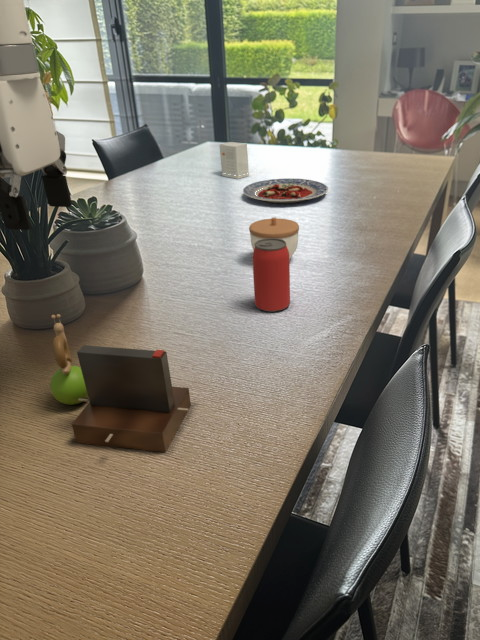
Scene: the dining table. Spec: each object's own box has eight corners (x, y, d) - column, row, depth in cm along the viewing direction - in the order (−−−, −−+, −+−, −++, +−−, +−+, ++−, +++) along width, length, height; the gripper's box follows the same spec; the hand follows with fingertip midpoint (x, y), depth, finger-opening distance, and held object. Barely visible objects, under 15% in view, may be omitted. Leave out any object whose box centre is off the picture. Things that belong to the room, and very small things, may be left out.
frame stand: (54, 454, 68) (48, 434, 66) (108, 387, 81) (104, 368, 79) (170, 468, 66) (167, 447, 64) (207, 395, 78) (205, 377, 76)
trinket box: (303, 266, 119) (303, 223, 114) (254, 270, 117) (251, 227, 112) (294, 249, 128) (293, 209, 122) (248, 253, 126) (246, 212, 121)
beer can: (253, 299, 105) (250, 238, 99) (287, 296, 106) (286, 236, 99) (256, 314, 100) (253, 250, 93) (292, 311, 100) (291, 248, 94)
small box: (249, 176, 190) (247, 143, 185) (237, 179, 187) (235, 146, 181) (233, 173, 195) (230, 141, 189) (221, 176, 191) (219, 143, 186)
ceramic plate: (314, 210, 153) (315, 200, 152) (230, 204, 161) (229, 194, 159) (337, 187, 174) (337, 178, 172) (260, 183, 181) (260, 174, 180)
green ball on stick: (94, 383, 82) (76, 310, 75) (96, 407, 76) (76, 331, 70) (56, 390, 80) (34, 317, 74) (55, 415, 75) (31, 338, 69)
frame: (90, 405, 72) (76, 350, 67) (96, 397, 73) (83, 343, 69) (170, 412, 70) (161, 357, 65) (174, 404, 71) (166, 349, 67)
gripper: (16, 60, 69) (50, 198, 78) (-85, 70, 55) (-29, 238, 64) (71, 59, 68) (99, 199, 77) (-18, 69, 54) (29, 240, 63)
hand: (41, 216), depth 71 cm, fingers open, 9 cm apart
